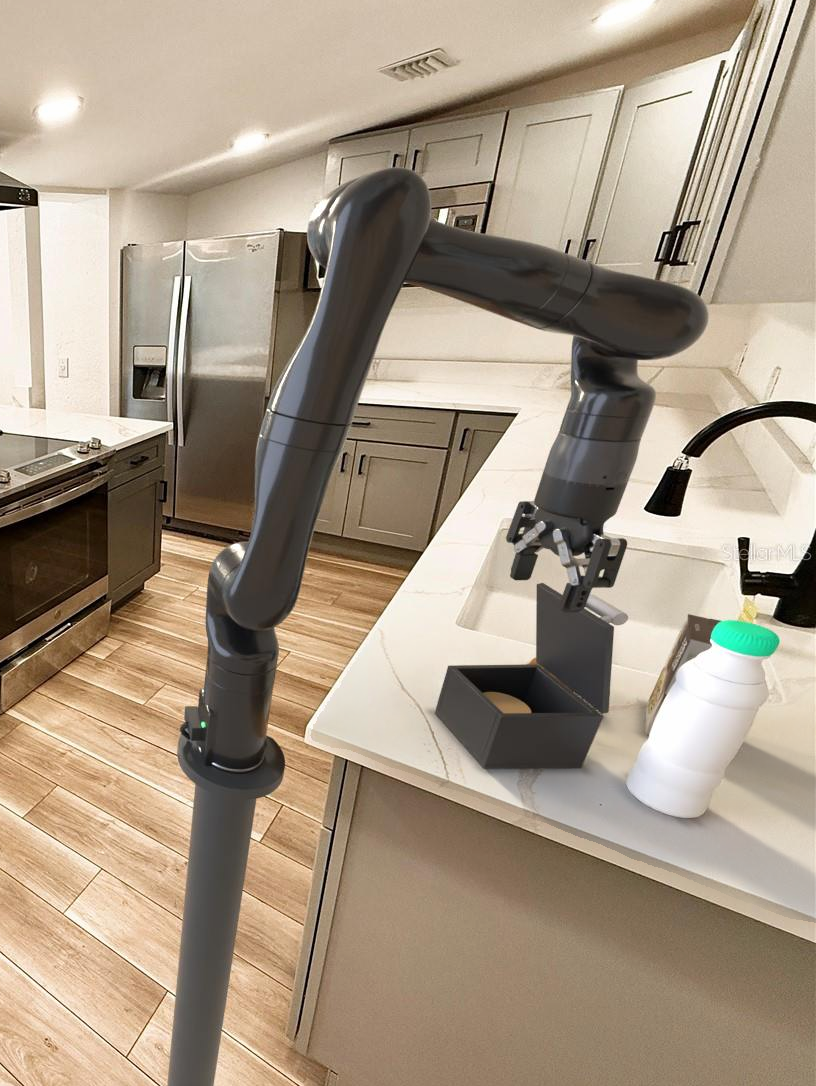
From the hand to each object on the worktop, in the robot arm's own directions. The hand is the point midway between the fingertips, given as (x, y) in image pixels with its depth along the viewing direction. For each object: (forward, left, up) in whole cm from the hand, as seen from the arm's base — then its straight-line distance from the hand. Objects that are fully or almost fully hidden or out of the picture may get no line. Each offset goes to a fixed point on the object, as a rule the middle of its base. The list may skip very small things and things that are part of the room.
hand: (542, 594), depth 78 cm
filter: (0, 0, -23) cm, 23 cm away
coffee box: (+26, +2, -24) cm, 36 cm away
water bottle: (+13, -11, -24) cm, 29 cm away
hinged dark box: (+1, 0, -24) cm, 24 cm away
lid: (+6, 0, -8) cm, 10 cm away
